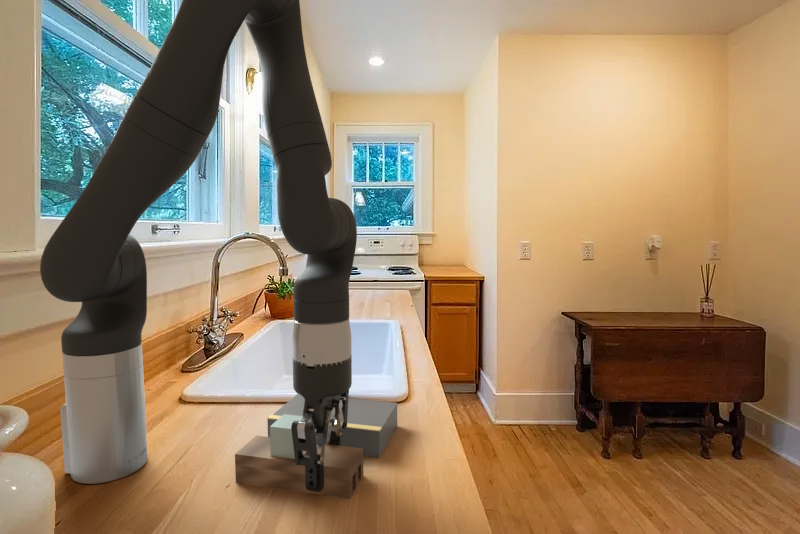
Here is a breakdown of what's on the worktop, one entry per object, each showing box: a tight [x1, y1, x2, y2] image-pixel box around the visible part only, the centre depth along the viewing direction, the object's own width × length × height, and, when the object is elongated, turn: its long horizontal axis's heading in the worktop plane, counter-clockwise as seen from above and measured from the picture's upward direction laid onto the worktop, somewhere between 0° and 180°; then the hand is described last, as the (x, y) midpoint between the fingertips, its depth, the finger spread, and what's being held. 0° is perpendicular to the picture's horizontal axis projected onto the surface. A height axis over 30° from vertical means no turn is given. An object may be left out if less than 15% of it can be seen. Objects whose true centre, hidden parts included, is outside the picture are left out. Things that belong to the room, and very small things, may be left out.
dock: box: [266, 393, 398, 458], centre depth 77 cm, size 18×11×4 cm, turn 77°
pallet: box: [234, 435, 364, 500], centre depth 64 cm, size 16×6×4 cm, turn 77°
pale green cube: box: [270, 414, 303, 459], centre depth 63 cm, size 4×4×4 cm
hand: (323, 476), depth 63 cm, fingers closed on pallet, 5 cm apart
